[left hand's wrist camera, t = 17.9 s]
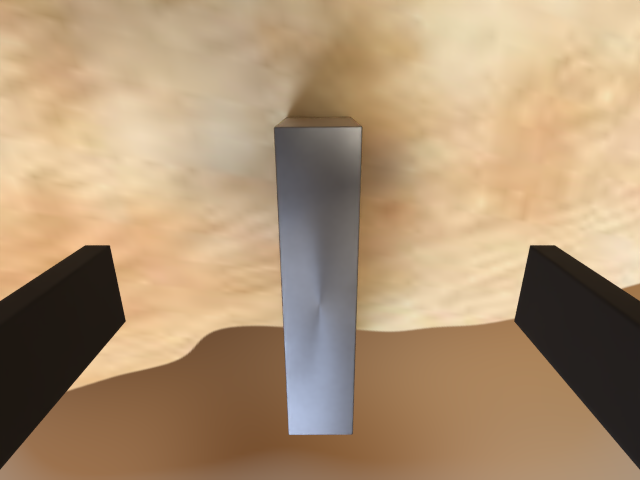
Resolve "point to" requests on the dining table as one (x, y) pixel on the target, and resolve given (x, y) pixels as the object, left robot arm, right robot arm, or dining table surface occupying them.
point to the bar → (319, 268)
